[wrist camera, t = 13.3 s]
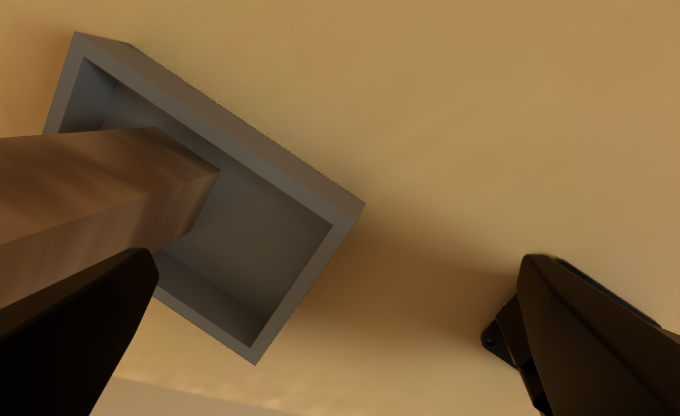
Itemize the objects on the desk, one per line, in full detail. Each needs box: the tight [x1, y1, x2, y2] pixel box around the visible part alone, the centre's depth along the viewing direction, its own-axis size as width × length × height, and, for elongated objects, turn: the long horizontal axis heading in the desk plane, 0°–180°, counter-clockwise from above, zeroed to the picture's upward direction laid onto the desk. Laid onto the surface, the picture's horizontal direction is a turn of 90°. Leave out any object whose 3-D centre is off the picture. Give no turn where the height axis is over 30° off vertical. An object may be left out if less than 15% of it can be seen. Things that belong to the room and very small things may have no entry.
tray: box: [42, 31, 365, 366], centre depth 20 cm, size 16×10×4 cm, turn 58°
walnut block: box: [0, 127, 221, 309], centre depth 16 cm, size 4×4×12 cm
